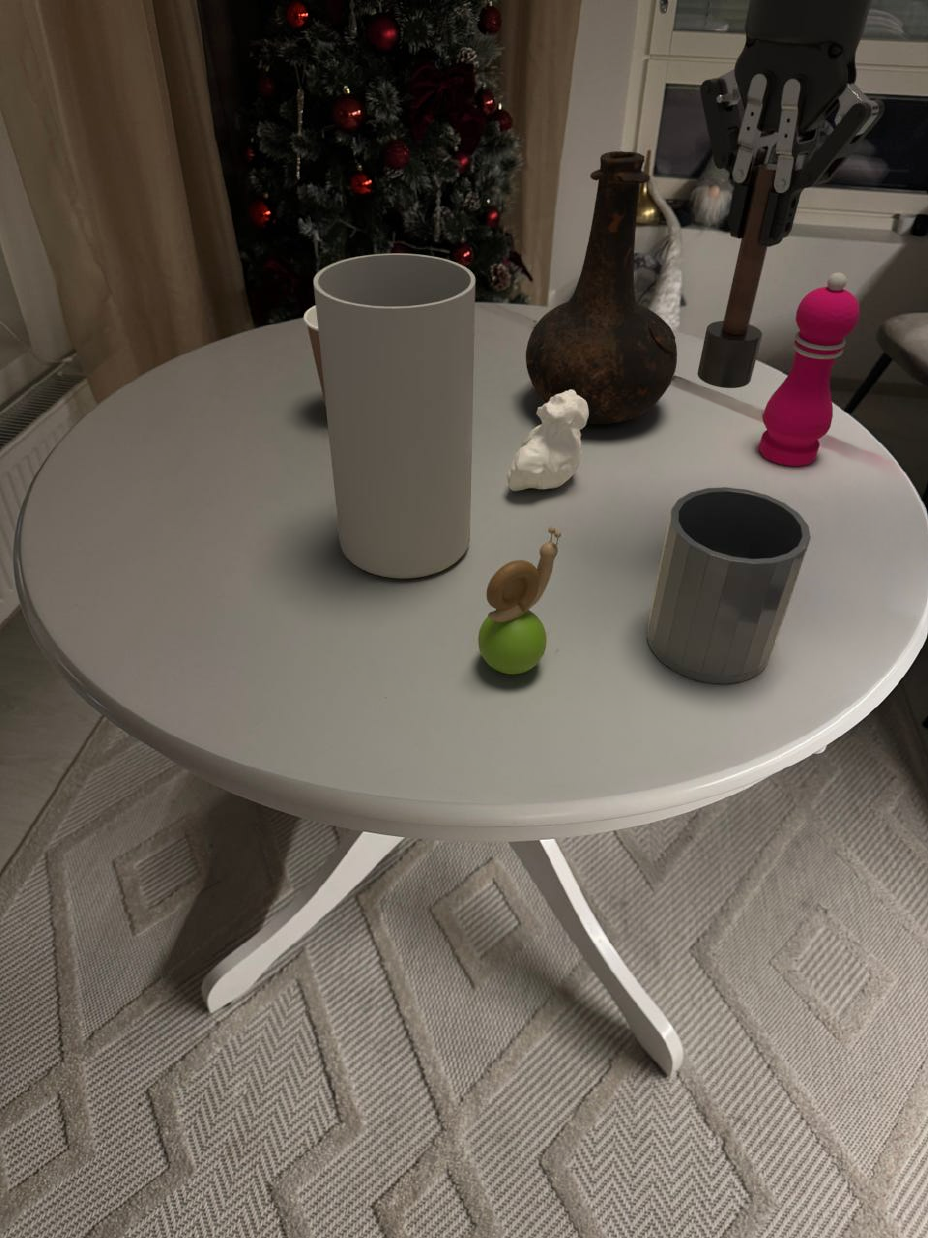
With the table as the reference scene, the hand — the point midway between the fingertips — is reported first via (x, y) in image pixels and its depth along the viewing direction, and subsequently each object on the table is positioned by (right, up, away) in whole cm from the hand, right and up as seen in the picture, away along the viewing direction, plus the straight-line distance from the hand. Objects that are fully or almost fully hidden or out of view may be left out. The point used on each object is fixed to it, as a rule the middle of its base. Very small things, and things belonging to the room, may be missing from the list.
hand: (755, 238), depth 64 cm
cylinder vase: (-28, -22, +18) cm, 39 cm away
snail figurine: (-18, -33, +5) cm, 38 cm away
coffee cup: (-35, -4, +38) cm, 52 cm away
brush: (0, -8, +7) cm, 11 cm away
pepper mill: (+15, -10, +32) cm, 37 cm away
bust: (-13, -14, +27) cm, 33 cm away
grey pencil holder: (-2, -31, +7) cm, 32 cm away
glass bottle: (-6, -3, +40) cm, 41 cm away
